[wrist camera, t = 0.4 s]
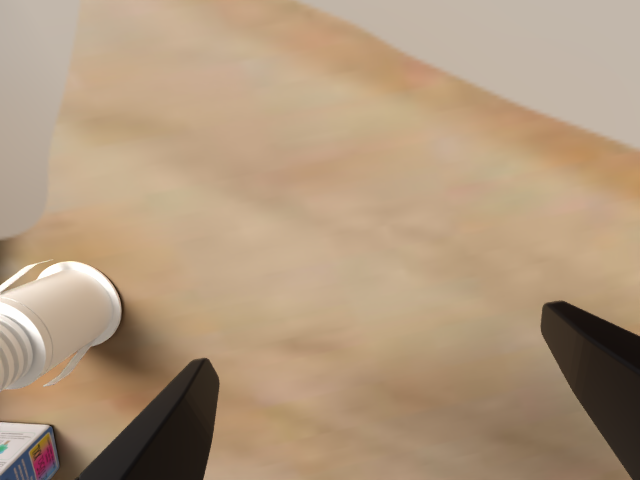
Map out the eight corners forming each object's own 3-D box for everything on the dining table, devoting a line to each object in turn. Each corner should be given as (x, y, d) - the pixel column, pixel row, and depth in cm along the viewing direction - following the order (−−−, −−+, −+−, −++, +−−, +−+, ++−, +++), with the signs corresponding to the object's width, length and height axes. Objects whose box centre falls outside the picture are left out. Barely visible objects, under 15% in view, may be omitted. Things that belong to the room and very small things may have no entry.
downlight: (138, 340, 27) (25, 437, 18) (61, 356, 28) (-89, 458, 18) (102, 245, 26) (-44, 293, 16) (21, 265, 27) (-166, 323, 17)
